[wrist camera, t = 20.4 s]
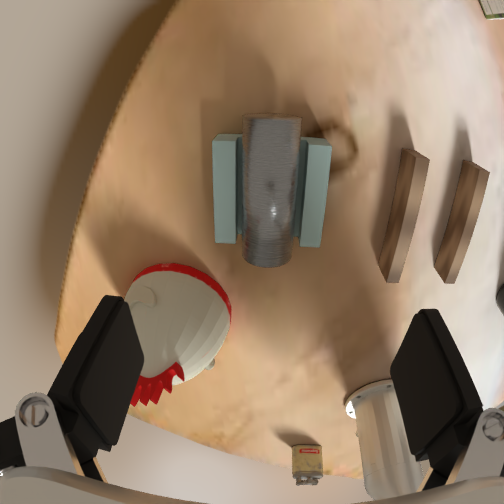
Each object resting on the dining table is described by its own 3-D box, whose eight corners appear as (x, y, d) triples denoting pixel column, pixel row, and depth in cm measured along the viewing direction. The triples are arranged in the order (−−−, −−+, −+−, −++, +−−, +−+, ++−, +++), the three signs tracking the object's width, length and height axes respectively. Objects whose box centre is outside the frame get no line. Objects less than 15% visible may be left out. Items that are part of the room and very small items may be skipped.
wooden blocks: (443, 267, 35) (454, 283, 32) (378, 265, 35) (386, 282, 32) (472, 162, 28) (489, 172, 25) (402, 148, 28) (416, 157, 25)
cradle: (315, 230, 34) (319, 247, 31) (220, 226, 34) (215, 242, 31) (325, 138, 28) (332, 146, 25) (218, 133, 29) (212, 140, 26)
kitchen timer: (110, 286, 40) (61, 371, 27) (190, 245, 36) (149, 343, 23) (172, 352, 46) (147, 437, 33) (251, 325, 41) (242, 425, 29)
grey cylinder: (291, 242, 33) (292, 268, 29) (244, 240, 33) (239, 265, 29) (299, 115, 26) (303, 122, 22) (245, 112, 26) (239, 119, 22)
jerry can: (323, 444, 61) (326, 482, 53) (318, 450, 63) (320, 487, 55) (294, 443, 61) (294, 482, 52) (289, 449, 63) (289, 487, 54)
